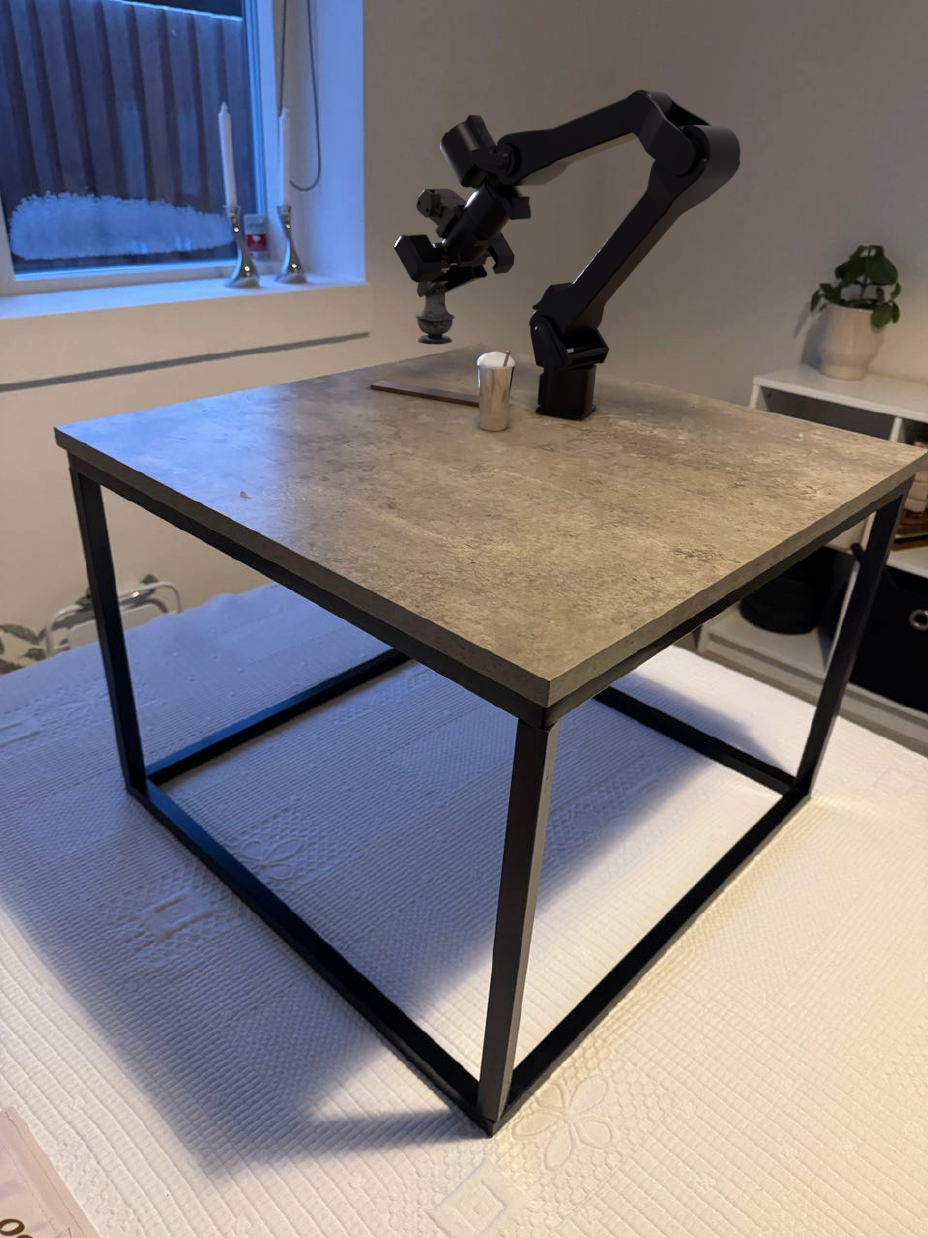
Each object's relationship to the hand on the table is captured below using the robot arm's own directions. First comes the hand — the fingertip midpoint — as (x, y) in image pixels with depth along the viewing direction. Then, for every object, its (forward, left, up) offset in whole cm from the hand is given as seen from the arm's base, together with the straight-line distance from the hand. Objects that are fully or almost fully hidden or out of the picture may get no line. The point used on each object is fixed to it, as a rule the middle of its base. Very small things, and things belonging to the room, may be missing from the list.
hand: (428, 293), depth 127 cm
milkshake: (-21, +21, -11) cm, 32 cm away
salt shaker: (-1, 0, -7) cm, 7 cm away
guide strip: (-8, +12, -11) cm, 19 cm away
